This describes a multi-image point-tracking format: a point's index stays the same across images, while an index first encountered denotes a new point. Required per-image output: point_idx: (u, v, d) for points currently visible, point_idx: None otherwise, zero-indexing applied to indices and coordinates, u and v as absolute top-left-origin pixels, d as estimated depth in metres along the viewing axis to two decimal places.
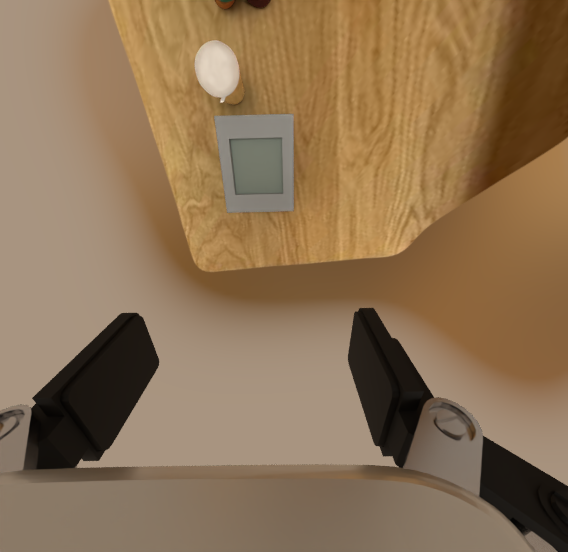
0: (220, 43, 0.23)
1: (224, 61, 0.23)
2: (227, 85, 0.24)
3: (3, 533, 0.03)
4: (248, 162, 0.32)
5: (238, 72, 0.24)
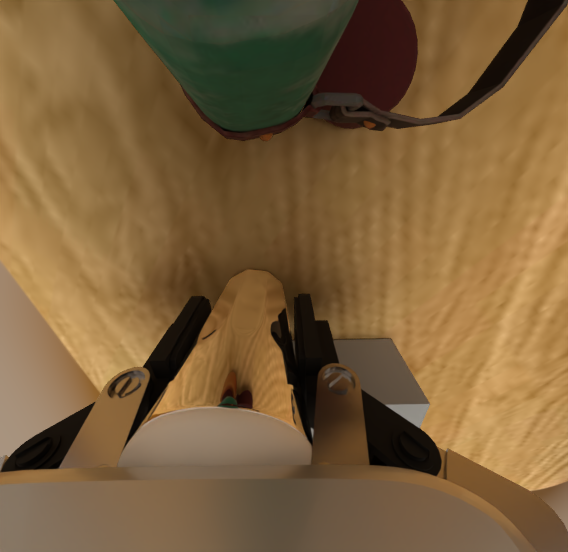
0: (241, 462, 0.04)
1: None
2: None
3: (3, 533, 0.03)
4: None
5: None
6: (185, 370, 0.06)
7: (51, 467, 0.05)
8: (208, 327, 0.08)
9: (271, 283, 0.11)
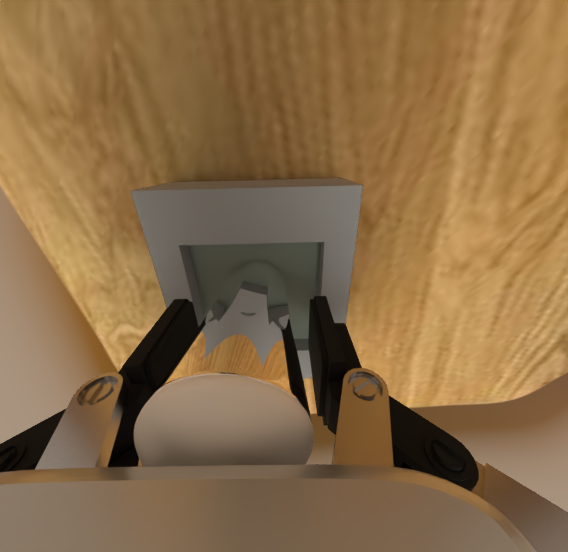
0: (244, 419, 0.05)
1: None
2: None
3: (3, 533, 0.03)
4: None
5: None
6: (194, 346, 0.06)
7: None
8: (214, 311, 0.08)
9: (273, 274, 0.11)
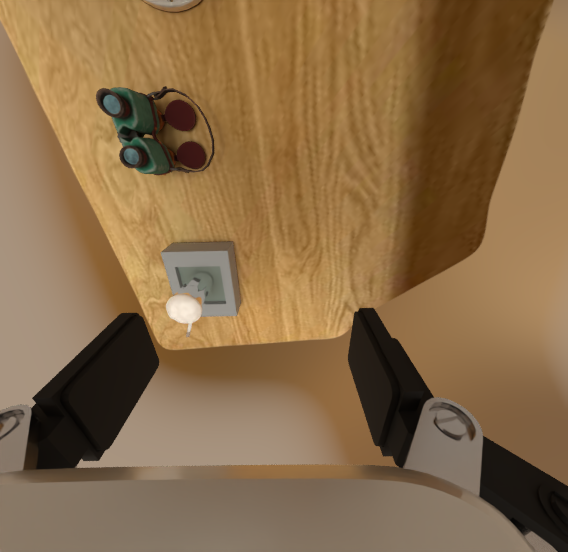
0: (184, 299, 0.29)
1: (188, 310, 0.29)
2: (192, 320, 0.30)
3: (3, 533, 0.03)
4: None
5: (200, 310, 0.30)
6: (177, 291, 0.31)
7: None
8: (183, 286, 0.33)
9: (205, 276, 0.36)
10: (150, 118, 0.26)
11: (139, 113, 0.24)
